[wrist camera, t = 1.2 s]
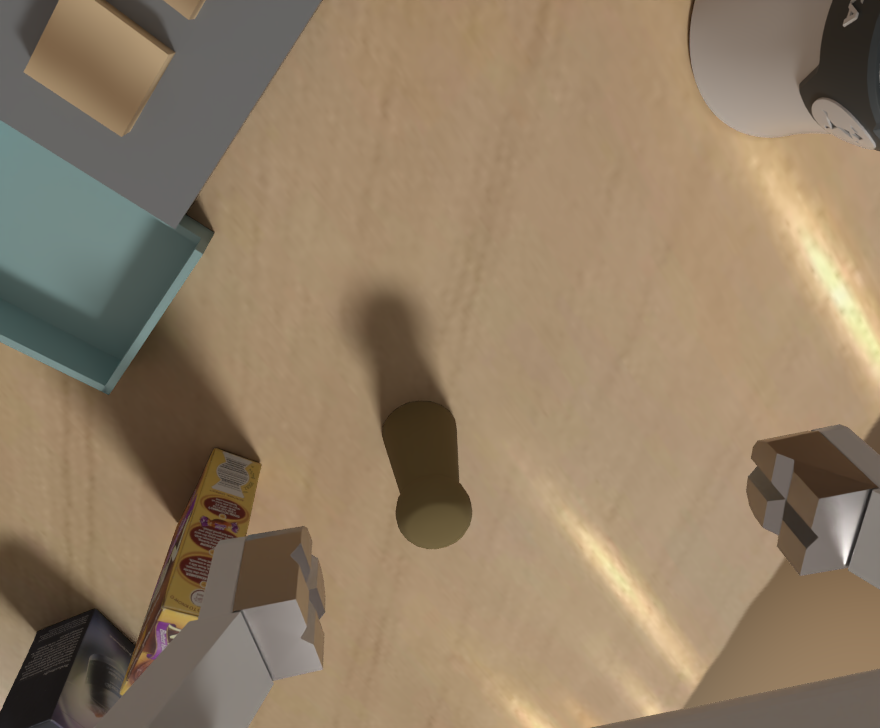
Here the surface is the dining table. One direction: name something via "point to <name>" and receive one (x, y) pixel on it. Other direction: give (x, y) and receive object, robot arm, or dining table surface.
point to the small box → (69, 675)
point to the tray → (82, 265)
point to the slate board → (157, 94)
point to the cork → (427, 474)
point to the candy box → (195, 553)
